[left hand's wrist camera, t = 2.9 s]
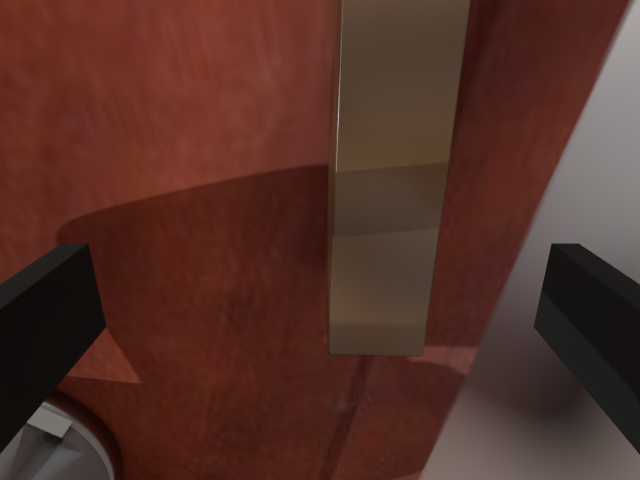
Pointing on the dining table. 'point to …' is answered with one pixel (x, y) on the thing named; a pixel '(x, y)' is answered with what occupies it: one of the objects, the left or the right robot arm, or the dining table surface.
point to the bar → (388, 167)
